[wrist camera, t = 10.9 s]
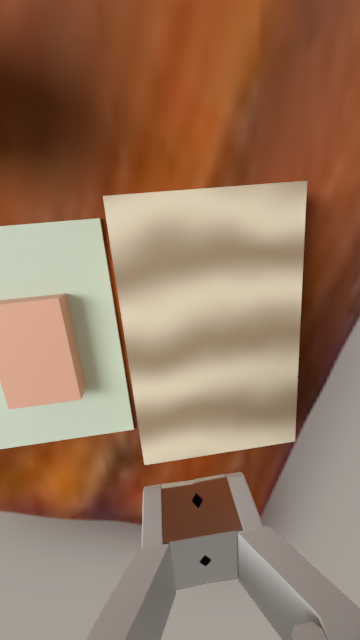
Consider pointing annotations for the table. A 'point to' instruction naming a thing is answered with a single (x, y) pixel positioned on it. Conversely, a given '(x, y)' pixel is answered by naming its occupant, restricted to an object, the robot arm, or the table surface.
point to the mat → (88, 322)
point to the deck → (211, 314)
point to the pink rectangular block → (39, 352)
